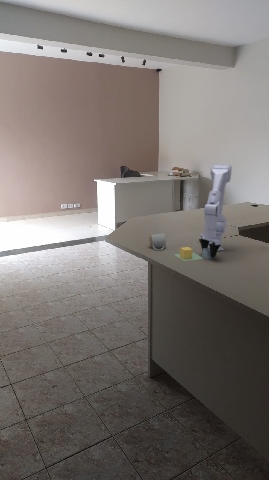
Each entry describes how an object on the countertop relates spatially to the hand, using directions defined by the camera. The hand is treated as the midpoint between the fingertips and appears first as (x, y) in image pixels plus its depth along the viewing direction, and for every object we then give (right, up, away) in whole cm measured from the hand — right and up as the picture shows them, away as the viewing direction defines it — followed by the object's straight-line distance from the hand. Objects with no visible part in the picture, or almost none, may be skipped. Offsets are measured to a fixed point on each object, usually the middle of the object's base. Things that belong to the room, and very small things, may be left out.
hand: (208, 255), depth 181 cm
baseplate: (-10, -1, +1) cm, 10 cm away
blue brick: (0, -1, 0) cm, 2 cm away
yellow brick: (-11, -1, -1) cm, 11 cm away
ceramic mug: (-24, +3, +15) cm, 28 cm away
